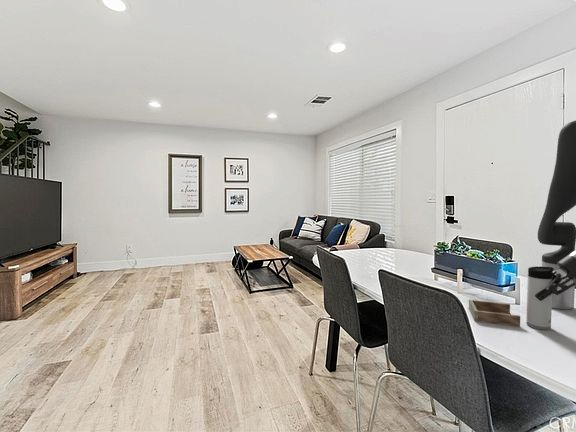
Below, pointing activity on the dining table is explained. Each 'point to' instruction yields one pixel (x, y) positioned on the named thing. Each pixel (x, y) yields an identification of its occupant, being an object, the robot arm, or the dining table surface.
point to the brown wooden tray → (493, 313)
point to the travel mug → (535, 308)
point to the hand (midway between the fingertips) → (533, 295)
